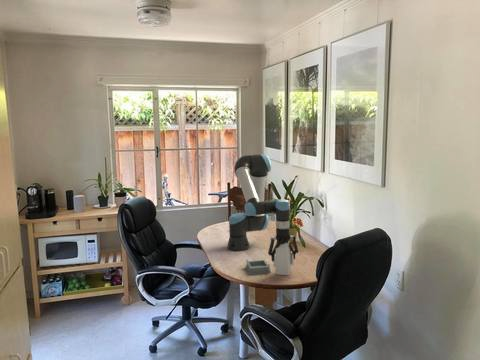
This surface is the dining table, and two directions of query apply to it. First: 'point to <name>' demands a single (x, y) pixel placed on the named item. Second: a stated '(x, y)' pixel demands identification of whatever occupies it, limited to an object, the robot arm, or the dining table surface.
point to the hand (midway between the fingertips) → (283, 265)
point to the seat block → (257, 267)
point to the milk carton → (283, 259)
